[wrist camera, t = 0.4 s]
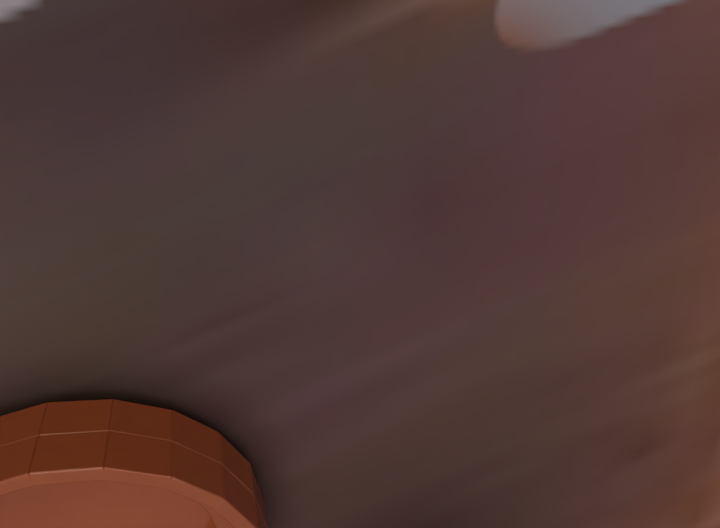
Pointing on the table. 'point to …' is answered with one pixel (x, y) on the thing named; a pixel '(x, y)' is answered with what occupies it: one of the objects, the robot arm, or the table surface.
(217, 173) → the table surface
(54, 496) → the bowl
